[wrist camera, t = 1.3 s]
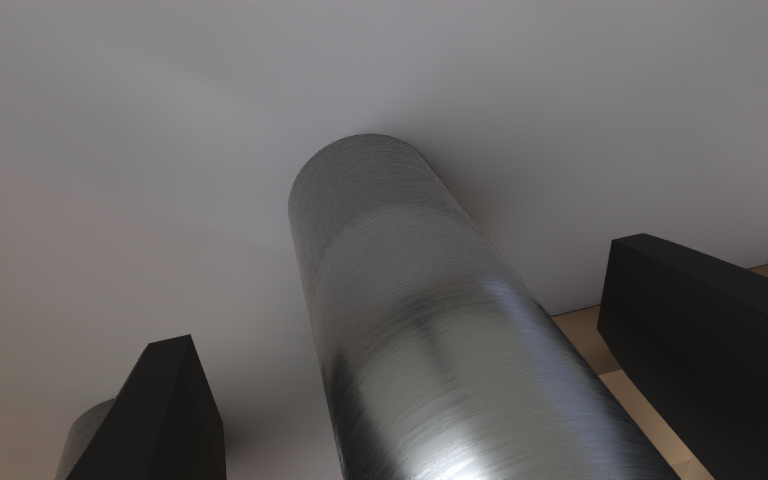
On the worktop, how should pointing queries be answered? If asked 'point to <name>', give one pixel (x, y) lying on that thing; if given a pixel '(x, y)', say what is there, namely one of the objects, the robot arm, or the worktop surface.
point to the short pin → (81, 437)
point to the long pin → (441, 337)
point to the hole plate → (631, 389)
